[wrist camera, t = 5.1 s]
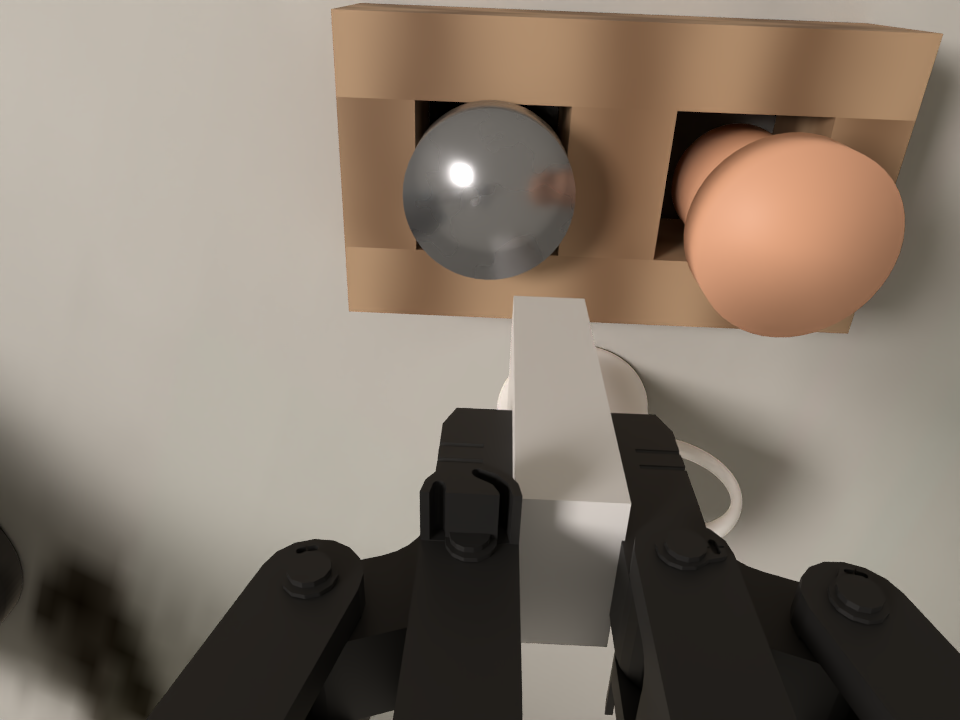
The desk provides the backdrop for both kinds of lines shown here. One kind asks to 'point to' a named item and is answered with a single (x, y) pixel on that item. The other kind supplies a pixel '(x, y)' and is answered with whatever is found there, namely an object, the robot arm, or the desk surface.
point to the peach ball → (785, 227)
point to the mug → (632, 399)
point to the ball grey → (489, 190)
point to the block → (595, 135)
